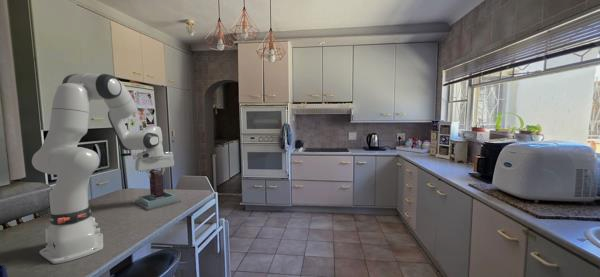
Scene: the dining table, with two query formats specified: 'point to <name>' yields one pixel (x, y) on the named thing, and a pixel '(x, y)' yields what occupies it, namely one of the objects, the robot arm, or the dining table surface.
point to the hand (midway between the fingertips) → (156, 176)
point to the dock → (157, 201)
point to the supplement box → (156, 184)
